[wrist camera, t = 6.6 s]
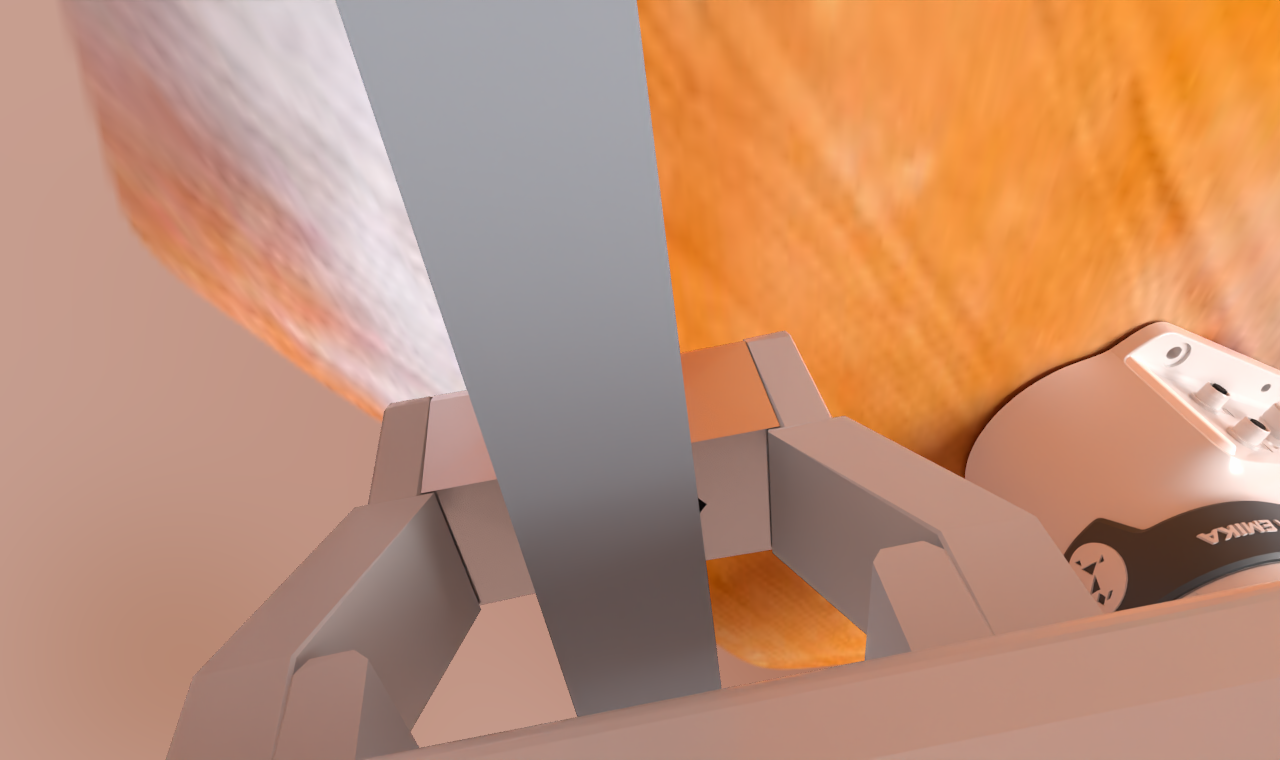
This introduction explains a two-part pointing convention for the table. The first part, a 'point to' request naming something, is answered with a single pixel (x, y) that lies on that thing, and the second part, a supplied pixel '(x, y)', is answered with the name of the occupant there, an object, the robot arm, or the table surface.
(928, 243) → the table surface
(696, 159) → the table surface
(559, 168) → the grey notched slab
